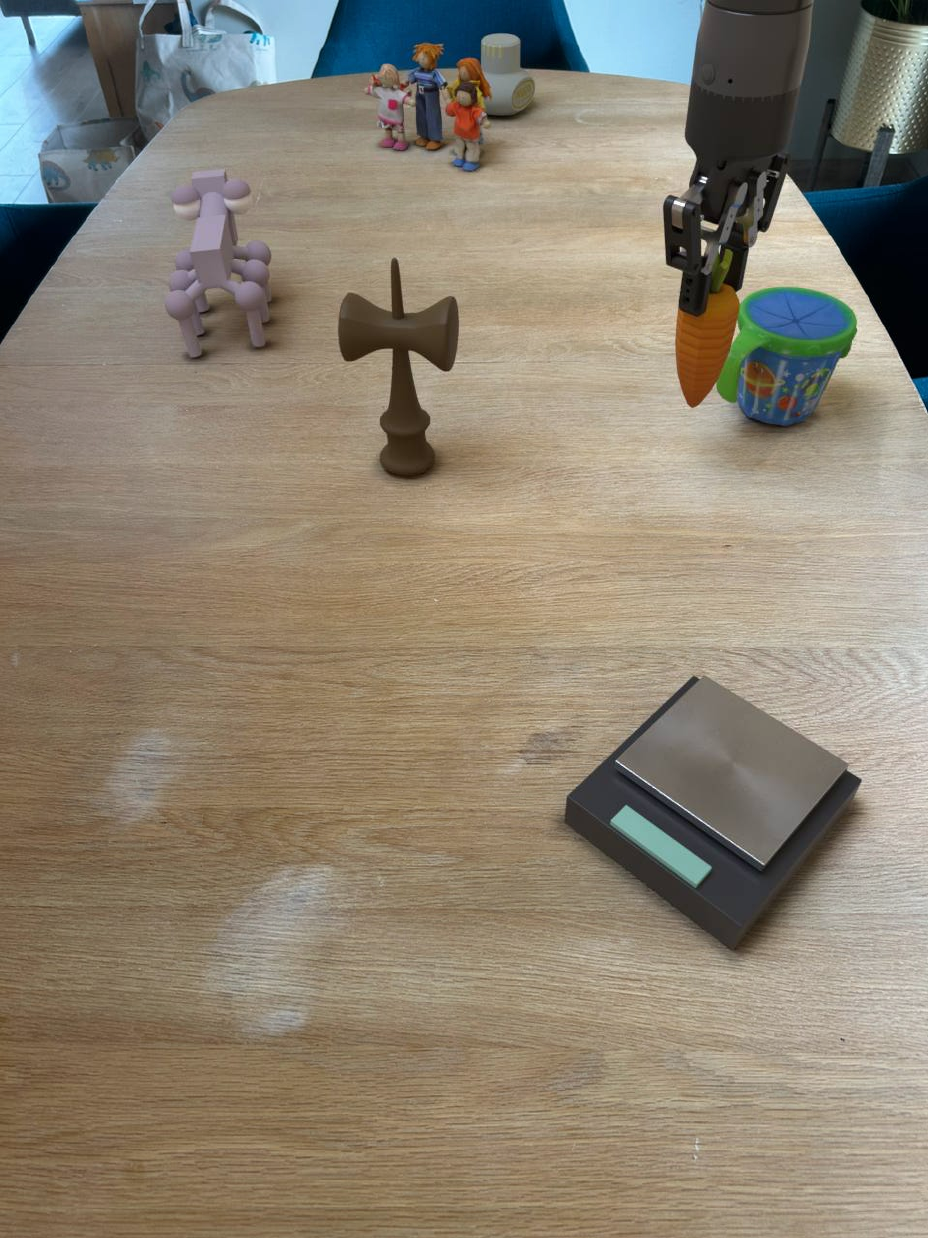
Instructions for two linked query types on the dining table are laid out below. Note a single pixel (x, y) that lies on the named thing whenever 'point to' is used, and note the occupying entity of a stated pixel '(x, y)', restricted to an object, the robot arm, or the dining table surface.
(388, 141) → the doll family
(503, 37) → the air freshener
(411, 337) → the kendama
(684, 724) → the scale pan
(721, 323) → the carrot
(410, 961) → the dining table surface
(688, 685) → the scale
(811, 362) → the snack cup
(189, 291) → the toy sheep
